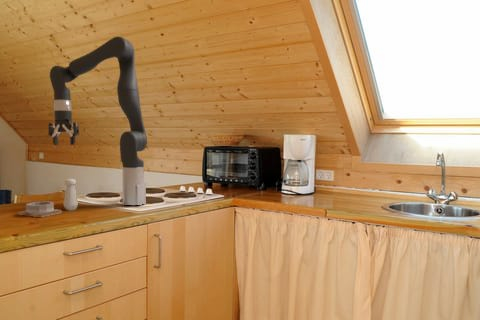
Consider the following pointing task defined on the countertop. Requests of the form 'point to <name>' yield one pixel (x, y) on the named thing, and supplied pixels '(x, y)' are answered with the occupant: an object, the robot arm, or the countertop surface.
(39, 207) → the cup holder
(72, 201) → the salt shaker
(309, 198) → the countertop surface
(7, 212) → the countertop surface
